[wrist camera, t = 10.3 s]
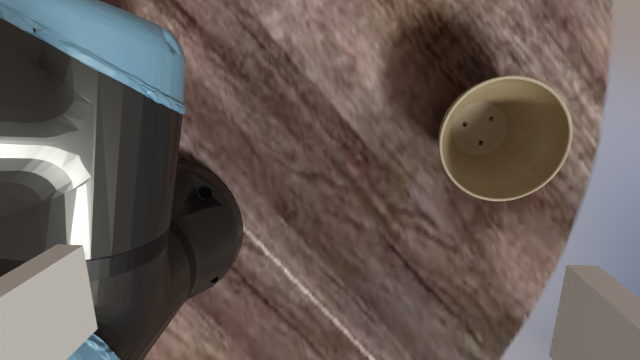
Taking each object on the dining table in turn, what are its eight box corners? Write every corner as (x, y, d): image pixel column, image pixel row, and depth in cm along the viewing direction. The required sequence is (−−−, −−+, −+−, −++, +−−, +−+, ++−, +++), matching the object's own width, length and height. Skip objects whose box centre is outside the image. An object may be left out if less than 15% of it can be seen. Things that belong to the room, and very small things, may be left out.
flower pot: (434, 69, 36) (454, 67, 29) (543, 82, 35) (590, 83, 28) (415, 171, 39) (428, 192, 32) (516, 185, 38) (552, 209, 31)
